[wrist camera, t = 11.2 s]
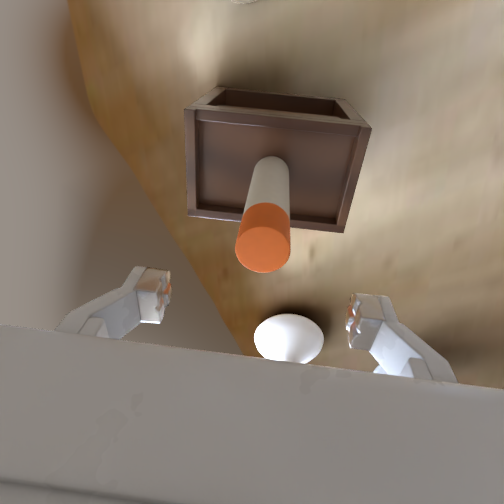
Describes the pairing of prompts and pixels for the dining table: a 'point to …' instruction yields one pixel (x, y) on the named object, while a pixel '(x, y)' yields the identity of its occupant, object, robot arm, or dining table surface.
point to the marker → (266, 218)
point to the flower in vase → (289, 338)
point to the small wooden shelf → (274, 153)
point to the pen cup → (243, 1)
